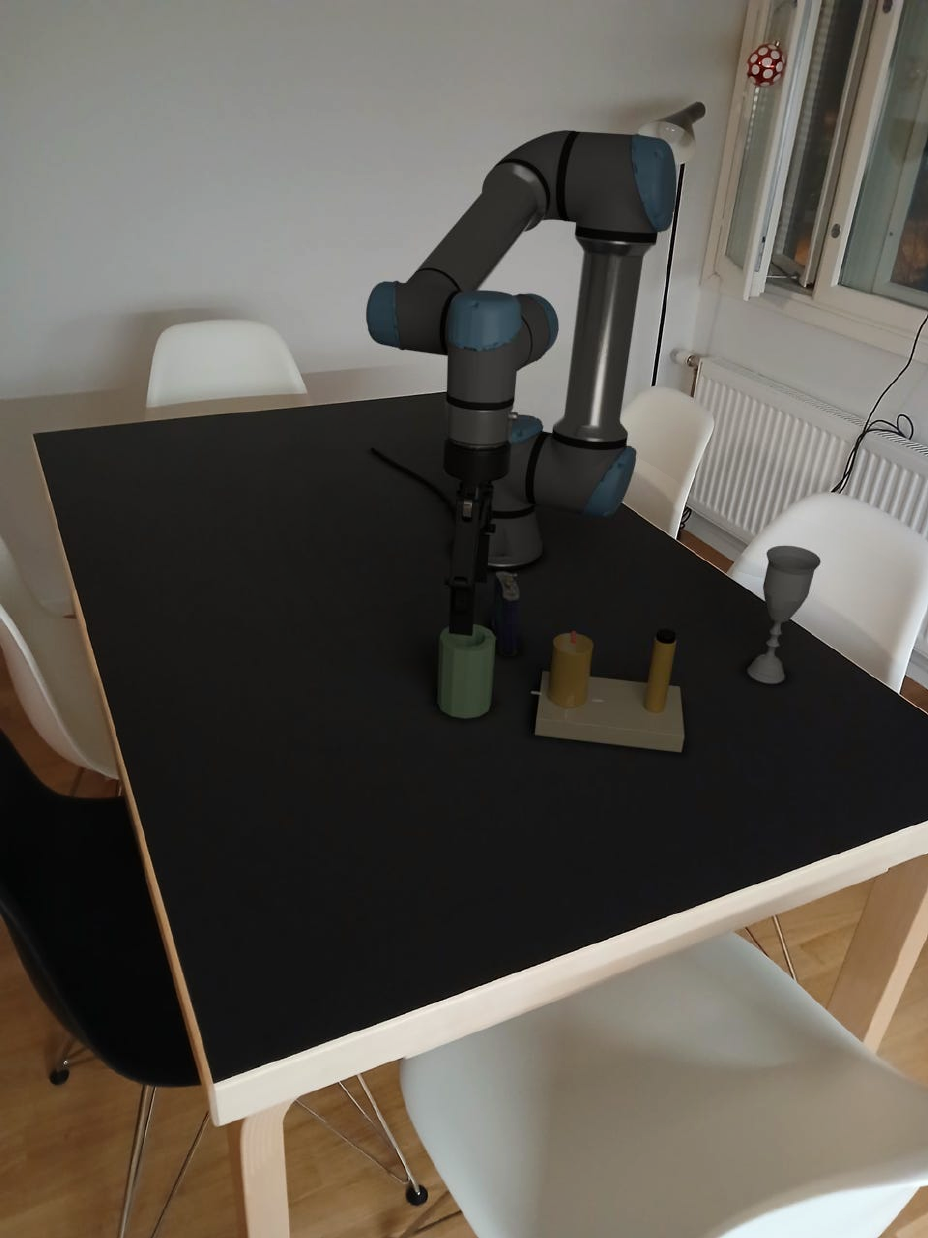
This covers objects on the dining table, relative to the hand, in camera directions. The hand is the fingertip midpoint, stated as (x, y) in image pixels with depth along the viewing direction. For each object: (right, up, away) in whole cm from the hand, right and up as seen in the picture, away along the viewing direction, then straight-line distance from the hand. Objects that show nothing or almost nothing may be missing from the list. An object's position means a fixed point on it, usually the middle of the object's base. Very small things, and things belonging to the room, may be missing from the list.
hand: (468, 606), depth 118 cm
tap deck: (+18, -14, +6) cm, 24 cm away
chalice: (+42, -9, +17) cm, 46 cm away
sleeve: (-1, -12, +7) cm, 15 cm away
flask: (+5, -5, +22) cm, 23 cm away
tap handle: (+13, -11, +5) cm, 18 cm away
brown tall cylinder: (+23, -15, +5) cm, 28 cm away
